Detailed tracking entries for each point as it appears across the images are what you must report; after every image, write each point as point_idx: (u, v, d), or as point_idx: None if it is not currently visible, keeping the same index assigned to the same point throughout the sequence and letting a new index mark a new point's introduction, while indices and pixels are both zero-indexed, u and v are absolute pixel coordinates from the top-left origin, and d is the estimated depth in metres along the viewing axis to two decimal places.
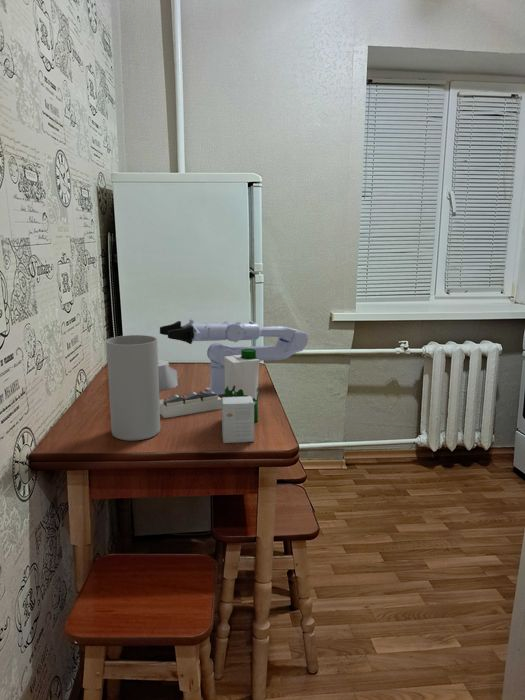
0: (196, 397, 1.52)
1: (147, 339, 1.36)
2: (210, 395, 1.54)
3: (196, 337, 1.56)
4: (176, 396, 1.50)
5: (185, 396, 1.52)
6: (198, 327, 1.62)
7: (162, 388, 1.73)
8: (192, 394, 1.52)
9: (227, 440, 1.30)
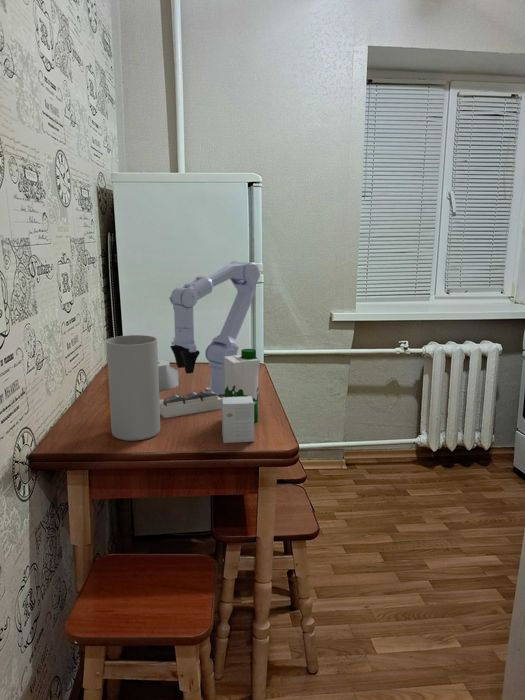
0: (196, 397, 1.52)
1: (147, 339, 1.36)
2: (210, 395, 1.54)
3: (194, 350, 1.53)
4: (176, 396, 1.50)
5: (185, 396, 1.52)
6: (181, 339, 1.55)
7: (163, 388, 1.73)
8: (192, 394, 1.52)
9: (227, 440, 1.30)
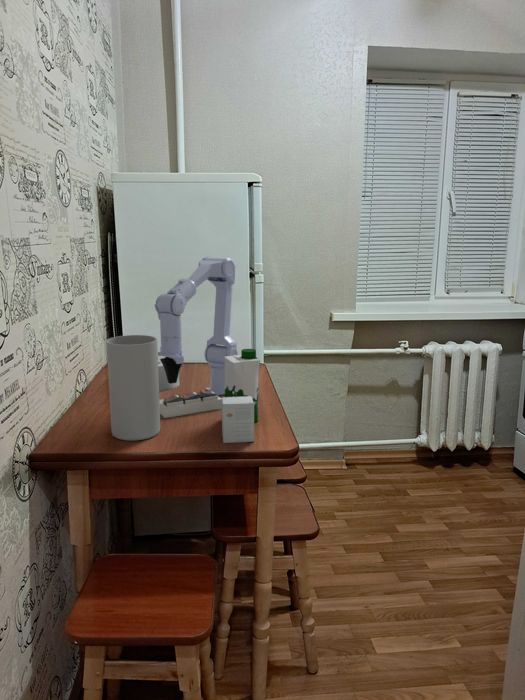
0: (196, 397, 1.52)
1: (147, 339, 1.36)
2: (210, 395, 1.54)
3: (181, 361, 1.41)
4: (176, 396, 1.50)
5: (185, 396, 1.52)
6: (167, 349, 1.44)
7: (164, 388, 1.73)
8: (192, 394, 1.52)
9: (227, 440, 1.30)
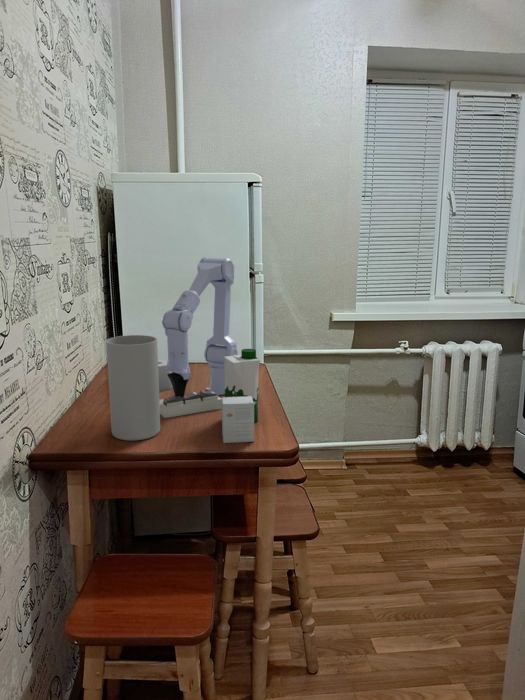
0: (196, 397, 1.52)
1: (147, 339, 1.36)
2: (210, 395, 1.54)
3: (189, 377, 1.43)
4: None
5: (185, 396, 1.52)
6: (174, 365, 1.46)
7: (165, 388, 1.73)
8: (192, 394, 1.52)
9: (227, 440, 1.30)
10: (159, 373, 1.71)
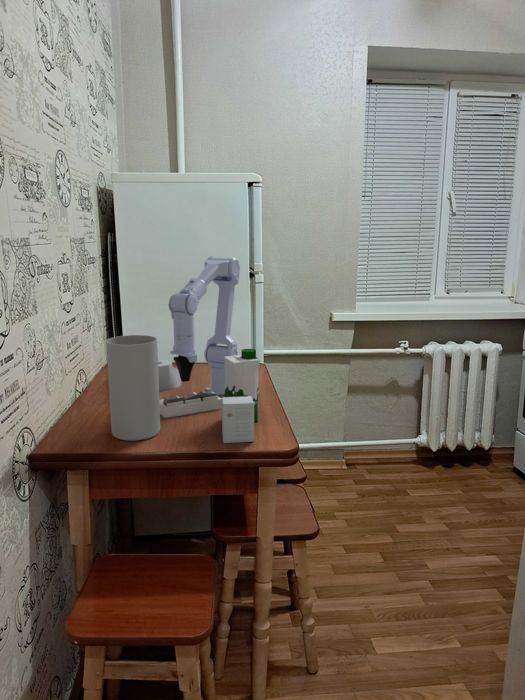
0: (196, 397, 1.52)
1: (147, 339, 1.36)
2: (210, 395, 1.54)
3: (195, 360, 1.43)
4: (177, 397, 1.50)
5: (185, 396, 1.52)
6: (180, 348, 1.46)
7: (166, 388, 1.73)
8: (192, 394, 1.52)
9: (227, 440, 1.30)
10: (160, 373, 1.71)
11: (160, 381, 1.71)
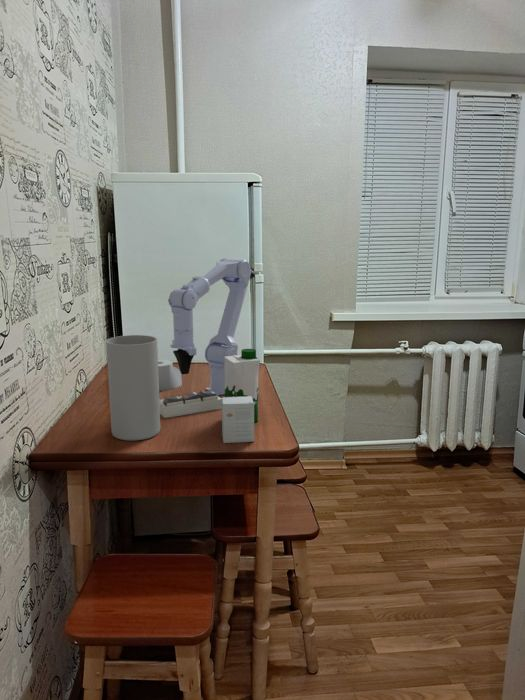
0: (196, 397, 1.52)
1: (147, 339, 1.36)
2: (210, 395, 1.54)
3: (194, 353, 1.49)
4: (177, 397, 1.50)
5: (185, 396, 1.52)
6: (180, 342, 1.52)
7: (166, 388, 1.73)
8: (192, 394, 1.52)
9: (227, 440, 1.30)
10: (160, 373, 1.71)
11: (161, 381, 1.71)
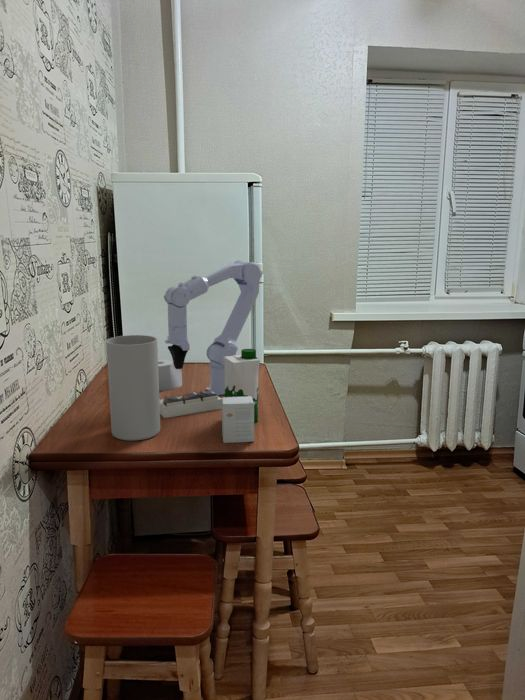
0: (196, 397, 1.52)
1: (147, 339, 1.36)
2: (210, 395, 1.54)
3: (187, 348, 1.55)
4: (177, 398, 1.50)
5: (185, 396, 1.52)
6: (174, 337, 1.57)
7: (167, 388, 1.73)
8: (192, 394, 1.52)
9: (227, 440, 1.30)
10: (161, 373, 1.71)
11: (161, 381, 1.72)
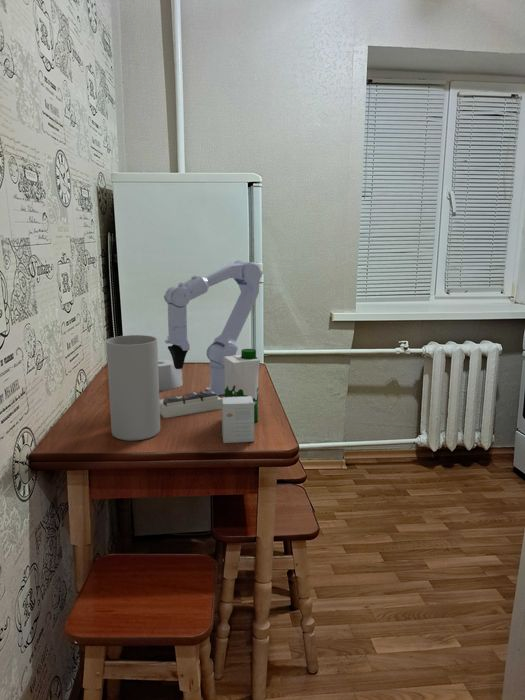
0: (196, 397, 1.52)
1: (147, 339, 1.36)
2: (210, 395, 1.54)
3: (187, 348, 1.55)
4: (177, 397, 1.50)
5: (185, 396, 1.52)
6: (174, 337, 1.57)
7: (167, 388, 1.73)
8: (192, 394, 1.52)
9: (227, 440, 1.30)
10: (161, 373, 1.71)
11: (162, 381, 1.72)
